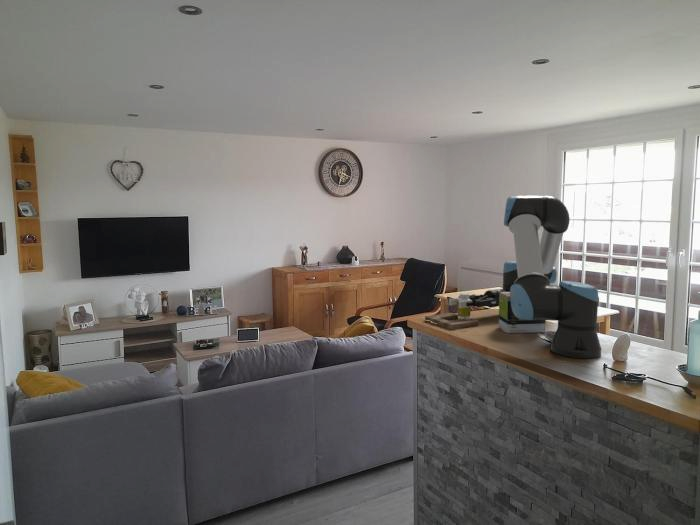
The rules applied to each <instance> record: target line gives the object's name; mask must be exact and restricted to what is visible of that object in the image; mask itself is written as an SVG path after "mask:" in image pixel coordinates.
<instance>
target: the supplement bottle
mask: <svg viewBox="0 0 700 525" xmlns="http://www.w3.org/2000/svg"><path fill="white" fill-rule="evenodd" d="M469 295H470V293H467V292H460V293H459V296H460V298H459V299H458V305H457V315H458V318H459V317H460V318H463V319H464V318H471V311H472V309H471V308H472V307H465V308H459V301H467V300H470V299H469Z"/></svg>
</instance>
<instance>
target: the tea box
mask: <svg viewBox="0 0 700 525" xmlns="http://www.w3.org/2000/svg"><path fill="white" fill-rule="evenodd" d="M510 300H511V298H510V292H499V306H498V327H499V328H500V329H501V330H503V331H504V332H505V333H506V334H518V333H519V334H520V333H522V334H523V333H525V334H526V333H545V332H546V320H527V319H519V318H517V317H516V316H515V315H514V313H513V311H512V307H511V301H510Z"/></svg>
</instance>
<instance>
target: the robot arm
mask: <svg viewBox="0 0 700 525" xmlns="http://www.w3.org/2000/svg"><path fill="white" fill-rule="evenodd" d="M570 220H571V218H570V213H569V211H568V208H567V207H566V205H565V204H564V202H562V201H561V200H560V199H559V198H556V197H555V196H552V195H512V196H508V197H507V199H506V202H505V209H504V216H503V225H504V226H506V227H508V230H509V231H510V232H511V233H512V234H513V241H514V251H515V260H510V261H509V260H507V261H505V262H504V263H503V268H502V269H503V270H502V288H497V289H496V288H495V289H489V290H486V291H484V293H483V294H477V295H476V294H469V299H470V300H467V301H459V308H465V307H471V308H472V307H474V308H475V307H476V308H483V307H488V308H489V309H490V308H496V307H499V292H510V298H511V300H510V301H511V307H512V311H513V313H514V315H515V316H516V317H517V318H519V319H527V320H545V321H557V328H556V331H555V334H554V335H553V337H552V341H551V346H550V347H551V348H550V349H551V351H552V352H553V353H554V354H557V355H560V356H563V357H568V358H574V359H586V360H587V359H588V360H589V359H596V358H600V357H601V355H602V347H601V343H600V339H599V336H598V332H597V328H598V327H597V324H598V310H599V306H598V305H599V303H600V301H599V291H598V289H597V287H595V286H593V285H591V284H587V283H584V282H583V283H582V282H578V281H572V280H571V281H570V280H560V281H559V284H558V285H554V284H555V283H556V281H557V276H558V275H557V273H558V272H557V268H556V267H555V263H556V259H557V256H558V253H559V249H560V246H561V243H562V240H563V235H564V233H566V232H567V230H568V229H569V225H570ZM541 227H542V228H543V230H542V234H541V238H539V229H540V228H541ZM551 284H553V285H551ZM459 298H460V295H459V296H458V297H454V298H449V300H448V303H449V304H448V305H449V306H458V299H459Z"/></svg>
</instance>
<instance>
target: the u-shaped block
mask: <svg viewBox="0 0 700 525" xmlns="http://www.w3.org/2000/svg"><path fill="white" fill-rule="evenodd" d="M437 316H439V317H437ZM425 320H430V321H432V322H434V323H437V324H439V325H441V326H440V327H442V326H443V327H442V328H445V329H449V330H451V331H452V330H453V331H454V330H459V329H460V330H461V329H464V328H471V327H476V326H479V320H477V319H474V318H471V317H466V318H464V317H463V318H459V316H458V313H457V314H456V313H453V312H447V313H439V314H432V315H426V316H424V321H425ZM439 325H438V326H439Z"/></svg>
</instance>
